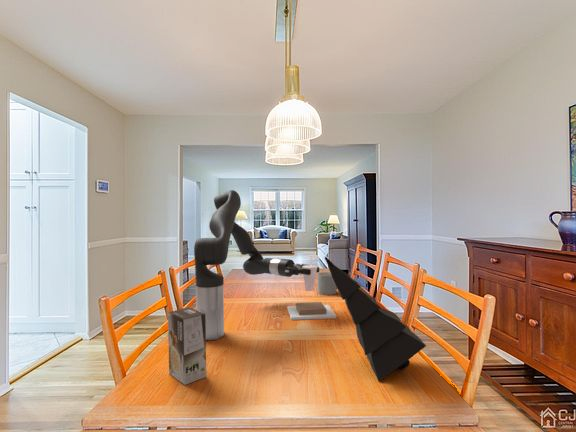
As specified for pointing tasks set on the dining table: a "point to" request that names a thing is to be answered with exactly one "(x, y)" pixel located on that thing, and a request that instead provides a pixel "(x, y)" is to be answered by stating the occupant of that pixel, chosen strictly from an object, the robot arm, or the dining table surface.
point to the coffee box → (187, 345)
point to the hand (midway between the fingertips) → (314, 271)
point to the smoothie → (310, 276)
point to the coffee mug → (326, 284)
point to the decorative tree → (376, 327)
